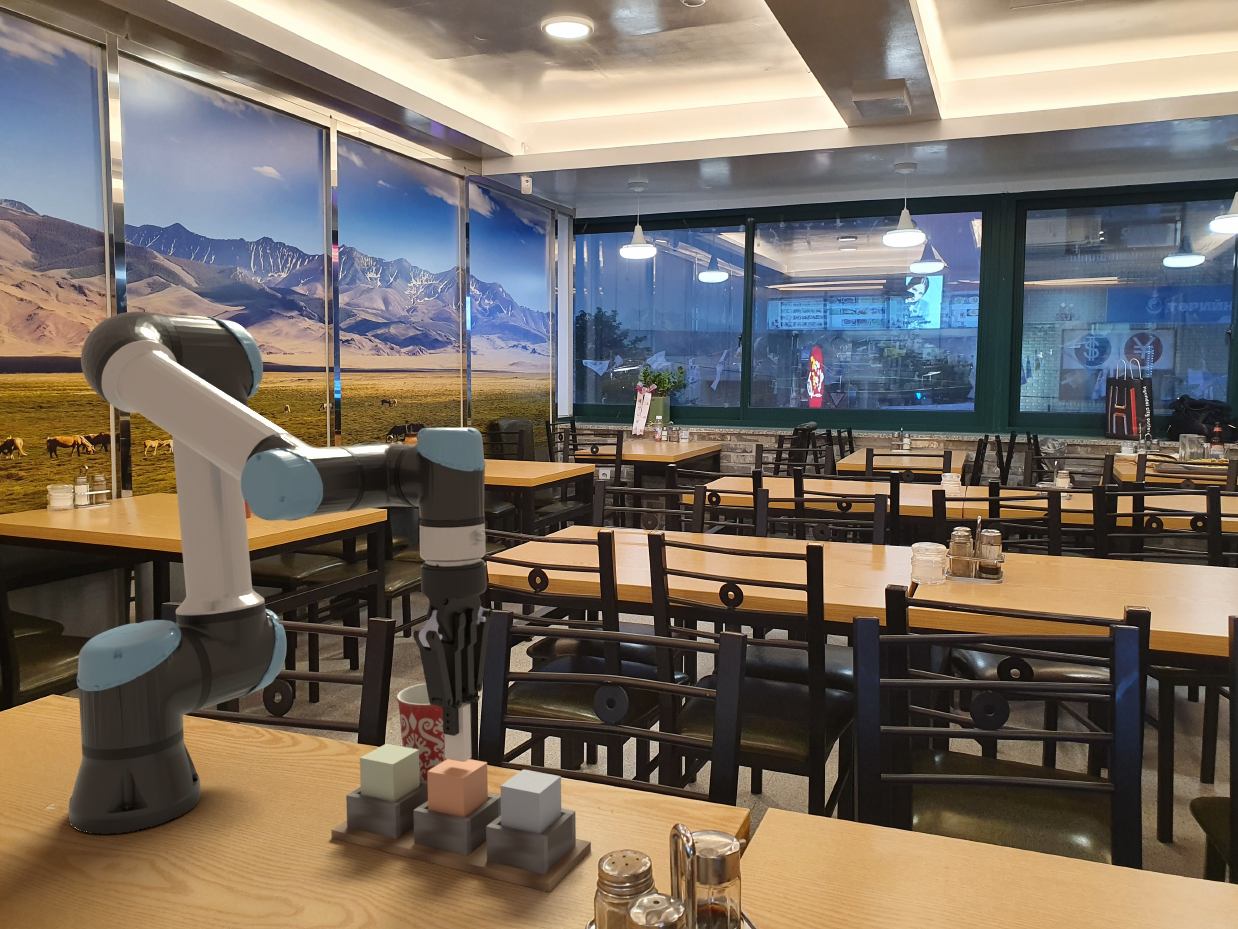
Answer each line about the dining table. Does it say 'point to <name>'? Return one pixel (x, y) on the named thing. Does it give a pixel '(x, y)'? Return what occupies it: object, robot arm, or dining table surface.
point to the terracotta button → (457, 787)
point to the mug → (422, 727)
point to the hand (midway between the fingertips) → (458, 758)
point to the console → (464, 838)
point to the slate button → (531, 801)
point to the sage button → (389, 772)
